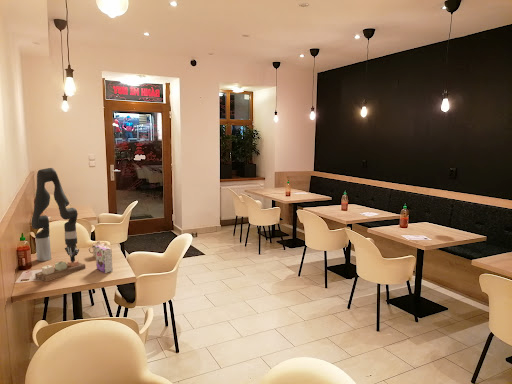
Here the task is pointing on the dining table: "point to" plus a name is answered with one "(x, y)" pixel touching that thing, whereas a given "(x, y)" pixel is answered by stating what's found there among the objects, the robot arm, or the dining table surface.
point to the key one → (47, 270)
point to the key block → (59, 272)
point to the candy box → (104, 258)
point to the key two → (60, 266)
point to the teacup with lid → (94, 247)
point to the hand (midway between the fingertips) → (72, 261)
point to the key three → (73, 263)
